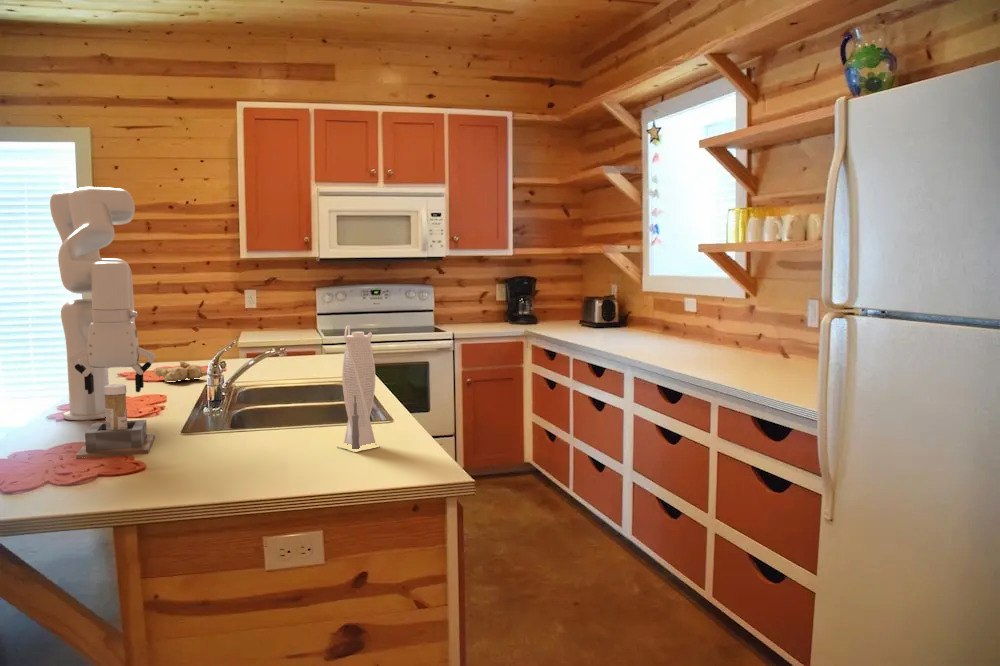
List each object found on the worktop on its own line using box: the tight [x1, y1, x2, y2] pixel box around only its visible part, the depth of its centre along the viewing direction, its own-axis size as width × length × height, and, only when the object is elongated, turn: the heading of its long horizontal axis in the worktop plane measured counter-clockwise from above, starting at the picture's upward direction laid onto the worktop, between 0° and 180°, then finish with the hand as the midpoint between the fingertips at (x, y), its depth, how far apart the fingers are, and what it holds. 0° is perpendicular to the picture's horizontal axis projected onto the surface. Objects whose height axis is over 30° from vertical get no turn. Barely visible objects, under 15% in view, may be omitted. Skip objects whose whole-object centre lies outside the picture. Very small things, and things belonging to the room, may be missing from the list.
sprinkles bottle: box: [104, 383, 128, 430], centre depth 169 cm, size 5×5×14 cm
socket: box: [75, 419, 156, 459], centre depth 170 cm, size 16×14×6 cm
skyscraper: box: [341, 323, 376, 449], centre depth 170 cm, size 8×8×28 cm
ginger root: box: [154, 359, 208, 382], centre depth 260 cm, size 16×16×8 cm
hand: (114, 392), depth 169 cm, fingers open, 9 cm apart
